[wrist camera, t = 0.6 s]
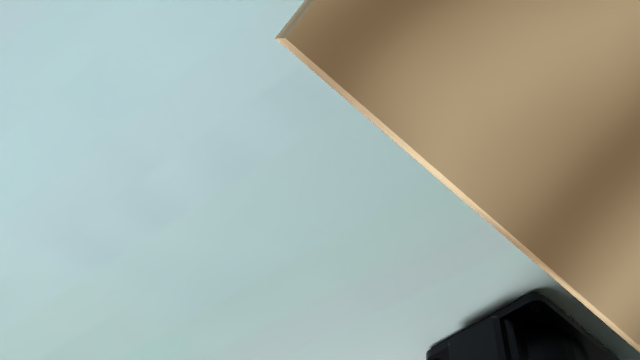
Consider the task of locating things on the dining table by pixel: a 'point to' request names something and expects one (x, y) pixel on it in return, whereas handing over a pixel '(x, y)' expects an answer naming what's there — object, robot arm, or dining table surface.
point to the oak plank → (508, 119)
